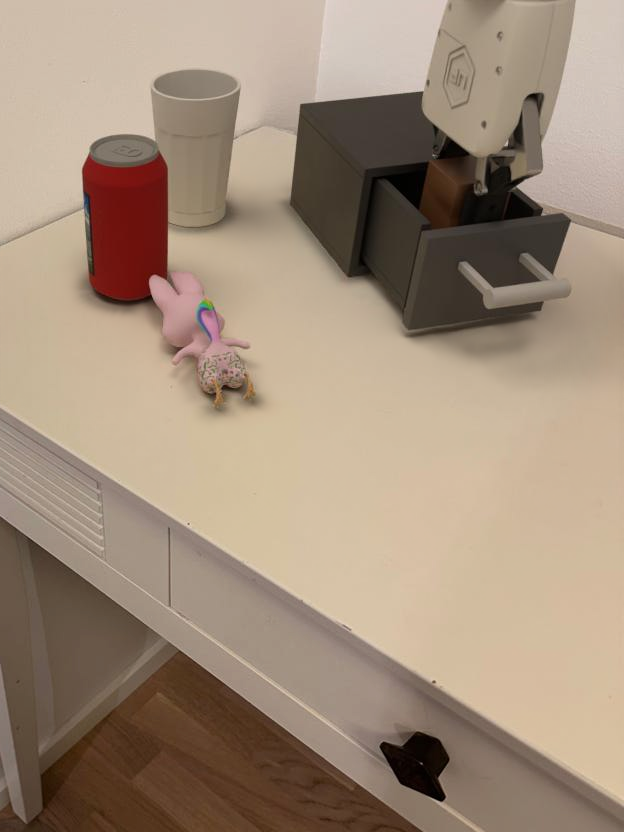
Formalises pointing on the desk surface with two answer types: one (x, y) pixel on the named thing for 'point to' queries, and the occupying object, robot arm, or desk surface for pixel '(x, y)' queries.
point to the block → (448, 190)
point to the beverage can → (125, 215)
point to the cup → (195, 140)
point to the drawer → (461, 257)
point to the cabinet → (354, 164)
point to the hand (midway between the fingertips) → (459, 221)
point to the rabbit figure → (199, 333)
